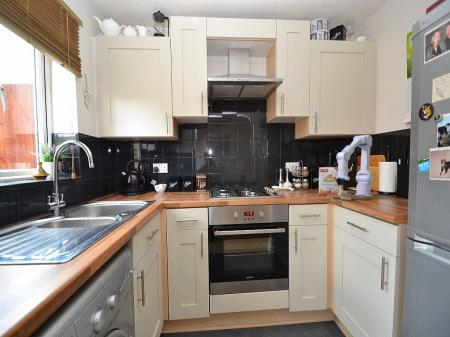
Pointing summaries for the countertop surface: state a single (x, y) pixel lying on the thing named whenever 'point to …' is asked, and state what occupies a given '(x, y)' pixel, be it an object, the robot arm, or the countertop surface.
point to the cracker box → (328, 180)
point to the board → (353, 197)
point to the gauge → (343, 194)
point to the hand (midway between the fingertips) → (342, 189)
